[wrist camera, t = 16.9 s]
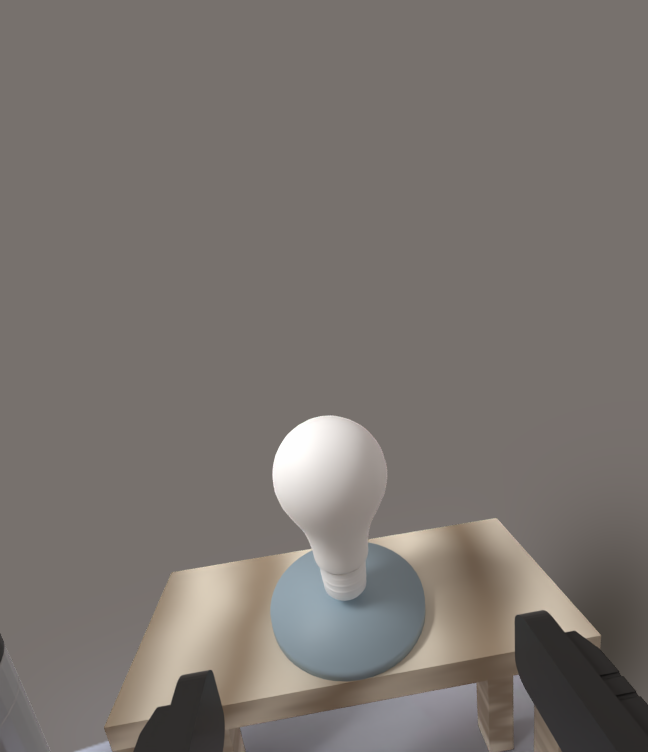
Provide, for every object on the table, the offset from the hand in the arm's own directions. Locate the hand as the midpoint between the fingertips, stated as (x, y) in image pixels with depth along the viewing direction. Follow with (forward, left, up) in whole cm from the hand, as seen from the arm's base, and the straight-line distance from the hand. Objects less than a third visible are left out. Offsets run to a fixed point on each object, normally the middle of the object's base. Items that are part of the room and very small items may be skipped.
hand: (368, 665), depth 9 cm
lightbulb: (-4, +10, -8) cm, 13 cm away
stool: (-4, +10, -29) cm, 31 cm away
